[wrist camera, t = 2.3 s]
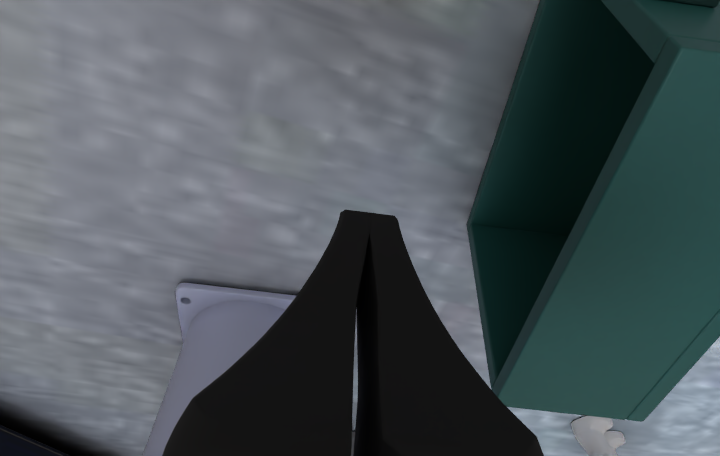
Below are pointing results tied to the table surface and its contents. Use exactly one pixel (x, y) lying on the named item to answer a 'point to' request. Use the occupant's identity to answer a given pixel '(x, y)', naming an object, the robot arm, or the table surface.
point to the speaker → (23, 445)
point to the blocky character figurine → (597, 435)
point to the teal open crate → (603, 209)
